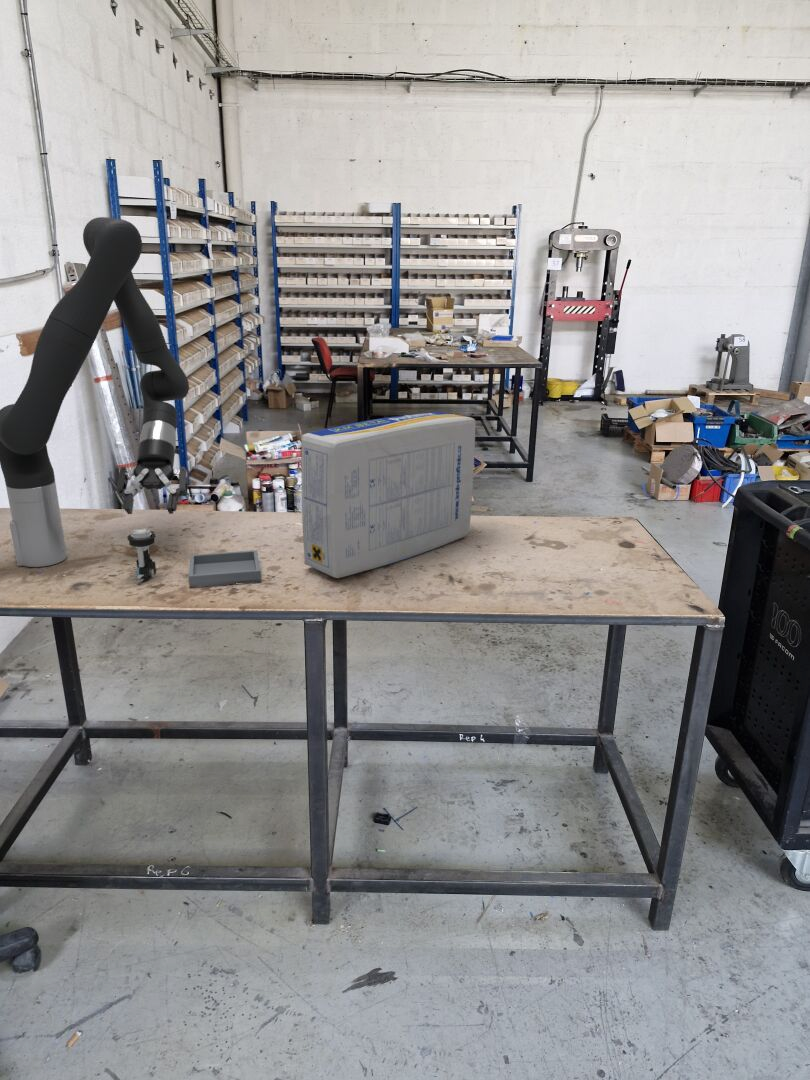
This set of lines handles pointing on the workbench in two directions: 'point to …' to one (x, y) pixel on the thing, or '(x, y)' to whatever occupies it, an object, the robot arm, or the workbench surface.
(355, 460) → the construction material bag
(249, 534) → the workbench surface
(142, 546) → the push button
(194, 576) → the tray
